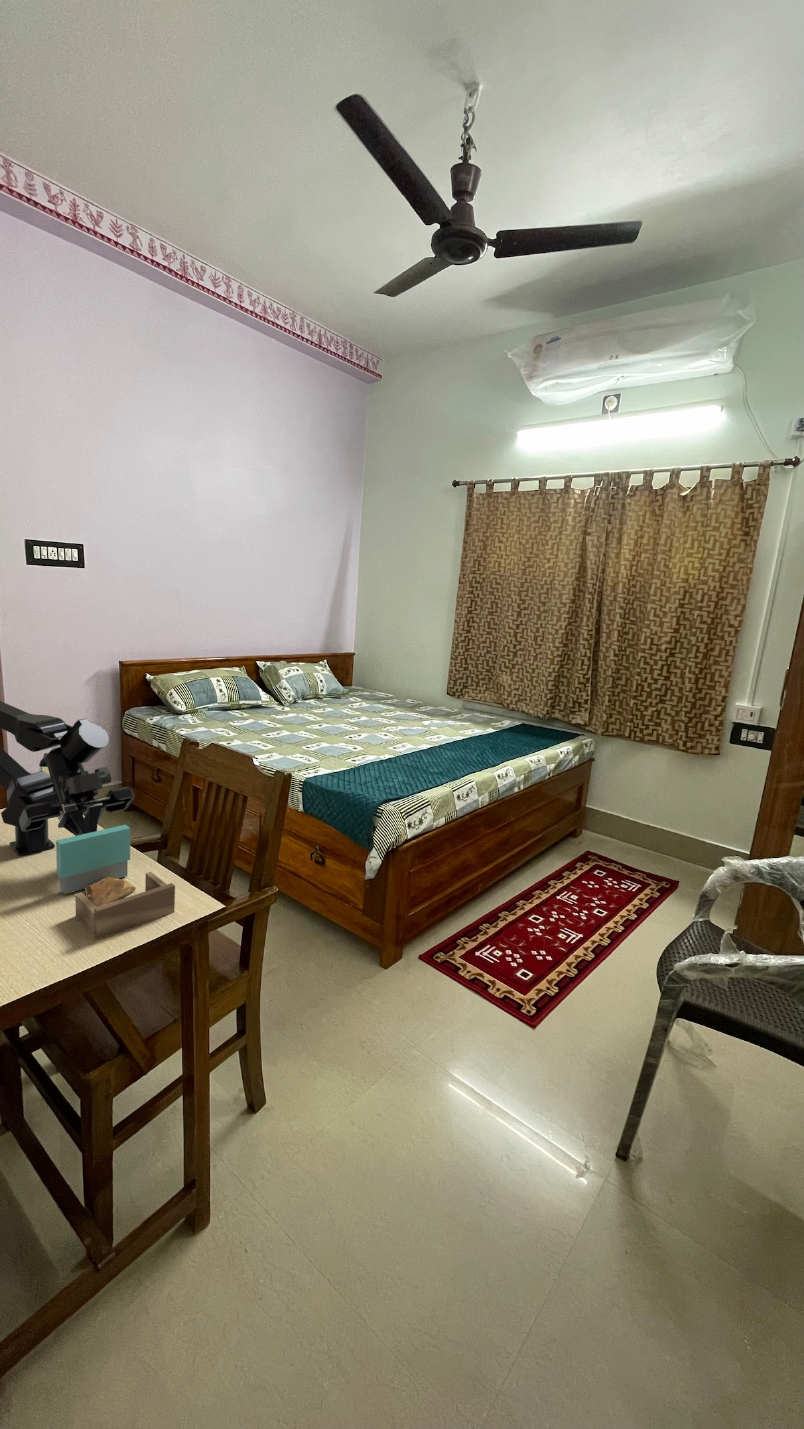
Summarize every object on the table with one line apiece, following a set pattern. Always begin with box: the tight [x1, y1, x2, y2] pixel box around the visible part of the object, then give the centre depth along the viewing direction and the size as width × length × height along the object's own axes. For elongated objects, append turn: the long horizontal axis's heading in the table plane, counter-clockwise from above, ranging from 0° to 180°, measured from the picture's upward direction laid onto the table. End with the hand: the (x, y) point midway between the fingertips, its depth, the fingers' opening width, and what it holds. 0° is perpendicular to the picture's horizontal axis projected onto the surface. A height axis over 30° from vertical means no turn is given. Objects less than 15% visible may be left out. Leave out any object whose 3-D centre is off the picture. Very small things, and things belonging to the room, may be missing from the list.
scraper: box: [55, 824, 131, 895], centre depth 105 cm, size 2×12×10 cm, turn 139°
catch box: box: [74, 871, 176, 941], centre depth 97 cm, size 9×13×5 cm
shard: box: [84, 876, 137, 907], centre depth 101 cm, size 11×8×2 cm
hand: (93, 848), depth 105 cm, fingers closed, pressing on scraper
